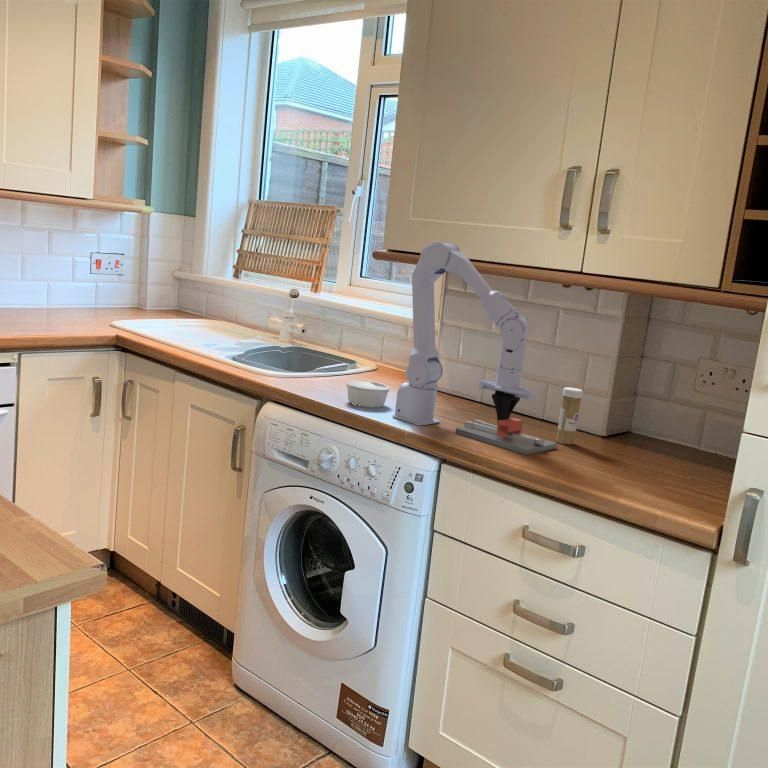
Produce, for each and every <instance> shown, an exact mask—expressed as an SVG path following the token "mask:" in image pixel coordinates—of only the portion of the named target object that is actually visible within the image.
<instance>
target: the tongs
mask: <svg viewBox="0 0 768 768" xmlns="http://www.w3.org/2000/svg"><path fill="white" fill-rule="evenodd" d="M463 424H464V426H463V427H469V428H474V429H478V430H481V431H485V432H489V433H492V434H497V427H498V425H495V424H491V423H489V422H486V421H484V420H481V419H473V420H472V421H470V420H464V423H463ZM521 433H522V432H521ZM521 433H518V432H508V433H507V438H511V439H514V440H518V441H521V442H525V443H529V444H532V445H535V446H539V447H543V446H544V440H545V439H544V438H541V437H537V438H533V437H534V436H533V437H530V436H531V435H530V436H527V435H528V434H526V435H524V434H525V433H523V434H521Z"/></svg>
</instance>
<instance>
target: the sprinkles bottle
mask: <svg viewBox="0 0 768 768" xmlns="http://www.w3.org/2000/svg"><path fill="white" fill-rule="evenodd" d="M583 392H584V391H583V390H582V389H580V388H576V387H572V386H571V387H569V386H567V387H563V391H562V401H561V407H560V412H559V418H558V424H557V433H556V438H555V441H556V443H557V444H558V443H559V444H562V445H574V444H575V439H576V431H577V428H578V421H579V414H580V408H581V407H580V406H581V402H582V401H581V400H582V398H583Z"/></svg>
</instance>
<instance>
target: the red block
mask: <svg viewBox="0 0 768 768" xmlns="http://www.w3.org/2000/svg"><path fill="white" fill-rule="evenodd" d="M523 423H524V420H523V419H520V418H516V417H512V418H509V419H505V420H499V421H497V426H498V427H497V434H496V435H498V436H501V437H507V433H508V432H518V433H522V429H523Z"/></svg>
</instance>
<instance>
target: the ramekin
mask: <svg viewBox="0 0 768 768" xmlns="http://www.w3.org/2000/svg"><path fill="white" fill-rule="evenodd" d="M346 388H347V391H346V392H347V401H348V402H349V403H350V404H351V403H353V404H355V405H360V406H364V407H363V408H366V407H379V408H382V407H383V406H384V405H385V403H386V400H387V396H388V393H389V392H390V387H389V386H387V385H385V384H382V383H379V382H374V381H368V380H367V381H365V380H350V381H348V382H346ZM353 404H352V405H353ZM355 405H354V406H355ZM360 406H359V407H360Z"/></svg>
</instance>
